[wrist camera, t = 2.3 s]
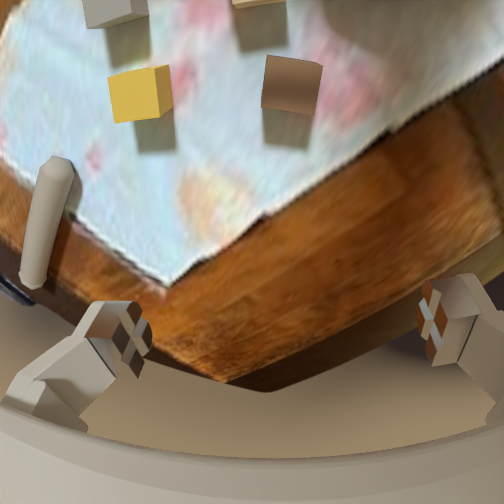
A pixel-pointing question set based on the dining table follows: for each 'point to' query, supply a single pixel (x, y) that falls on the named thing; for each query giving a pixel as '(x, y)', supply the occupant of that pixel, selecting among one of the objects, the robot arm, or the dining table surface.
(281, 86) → the walnut cube
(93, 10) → the grey cube
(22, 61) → the dining table surface
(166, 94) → the mustard cube
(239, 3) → the beech cube
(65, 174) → the tube
